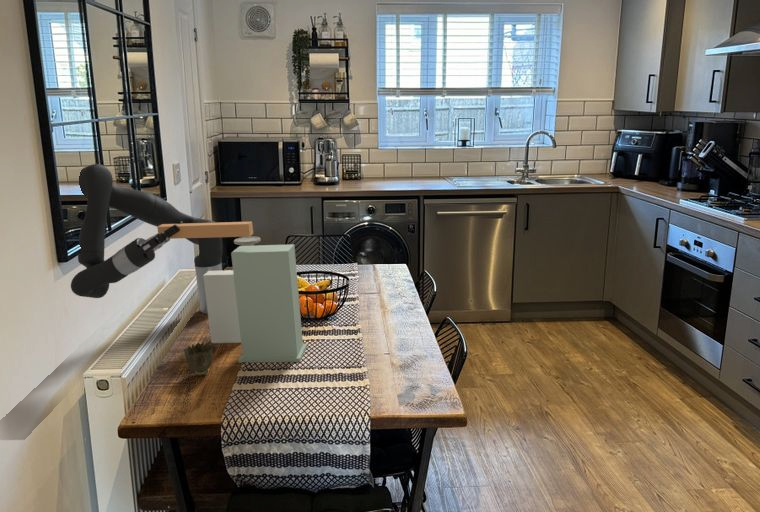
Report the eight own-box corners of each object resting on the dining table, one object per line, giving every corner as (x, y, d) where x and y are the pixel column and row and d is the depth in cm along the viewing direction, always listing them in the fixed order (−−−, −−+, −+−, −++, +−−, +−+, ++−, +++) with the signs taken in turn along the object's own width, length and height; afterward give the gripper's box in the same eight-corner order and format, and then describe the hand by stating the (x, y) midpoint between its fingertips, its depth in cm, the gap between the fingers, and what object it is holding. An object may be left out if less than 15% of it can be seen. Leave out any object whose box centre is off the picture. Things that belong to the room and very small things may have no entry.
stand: (248, 347, 187) (237, 244, 179) (307, 346, 185) (298, 243, 178) (238, 362, 176) (225, 254, 168) (300, 361, 175) (290, 252, 167)
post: (216, 337, 197) (208, 270, 191) (247, 336, 196) (240, 269, 190) (211, 343, 192) (203, 275, 186) (242, 342, 191) (235, 274, 186)
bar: (163, 236, 176) (162, 224, 175) (253, 233, 174) (252, 221, 173) (158, 238, 173) (157, 226, 172) (250, 236, 171) (248, 224, 170)
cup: (220, 370, 172) (217, 343, 170) (205, 381, 165) (201, 354, 163) (198, 367, 174) (194, 341, 172) (182, 378, 168) (178, 351, 166)
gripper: (113, 251, 169) (162, 219, 166) (136, 240, 182) (182, 209, 179) (130, 274, 170) (179, 242, 167) (152, 261, 184) (197, 231, 181)
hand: (180, 225), depth 173 cm, fingers closed on bar, 3 cm apart
